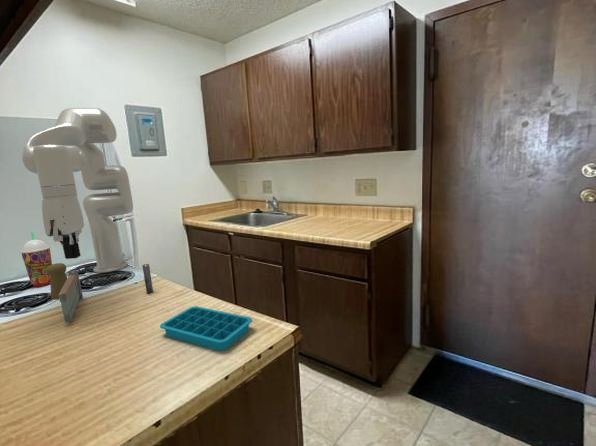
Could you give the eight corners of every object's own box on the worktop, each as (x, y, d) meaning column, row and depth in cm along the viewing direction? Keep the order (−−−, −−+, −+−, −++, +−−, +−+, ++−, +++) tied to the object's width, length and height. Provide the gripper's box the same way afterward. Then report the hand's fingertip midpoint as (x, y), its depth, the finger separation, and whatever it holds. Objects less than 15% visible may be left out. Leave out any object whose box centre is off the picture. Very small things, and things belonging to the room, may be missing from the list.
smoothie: (32, 290, 113) (20, 235, 109) (26, 286, 118) (14, 233, 114) (60, 282, 119) (49, 230, 116) (53, 278, 124) (42, 229, 121)
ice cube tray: (194, 315, 86) (193, 305, 86) (255, 329, 77) (254, 318, 76) (159, 337, 76) (157, 325, 76) (224, 356, 67) (222, 343, 66)
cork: (77, 291, 109) (71, 261, 107) (62, 299, 103) (56, 266, 101) (61, 292, 109) (55, 261, 107) (46, 299, 103) (39, 267, 101)
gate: (74, 298, 100) (69, 274, 99) (80, 297, 101) (75, 273, 99) (64, 323, 83) (58, 294, 82) (71, 321, 84) (65, 293, 83)
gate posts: (76, 298, 103) (71, 270, 101) (154, 290, 105) (150, 263, 103) (72, 301, 101) (66, 272, 99) (151, 293, 103) (147, 265, 101)
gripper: (62, 190, 91) (74, 251, 95) (23, 196, 77) (40, 267, 81) (89, 188, 92) (100, 249, 96) (56, 194, 78) (71, 265, 81)
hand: (73, 257), depth 88 cm, fingers closed
